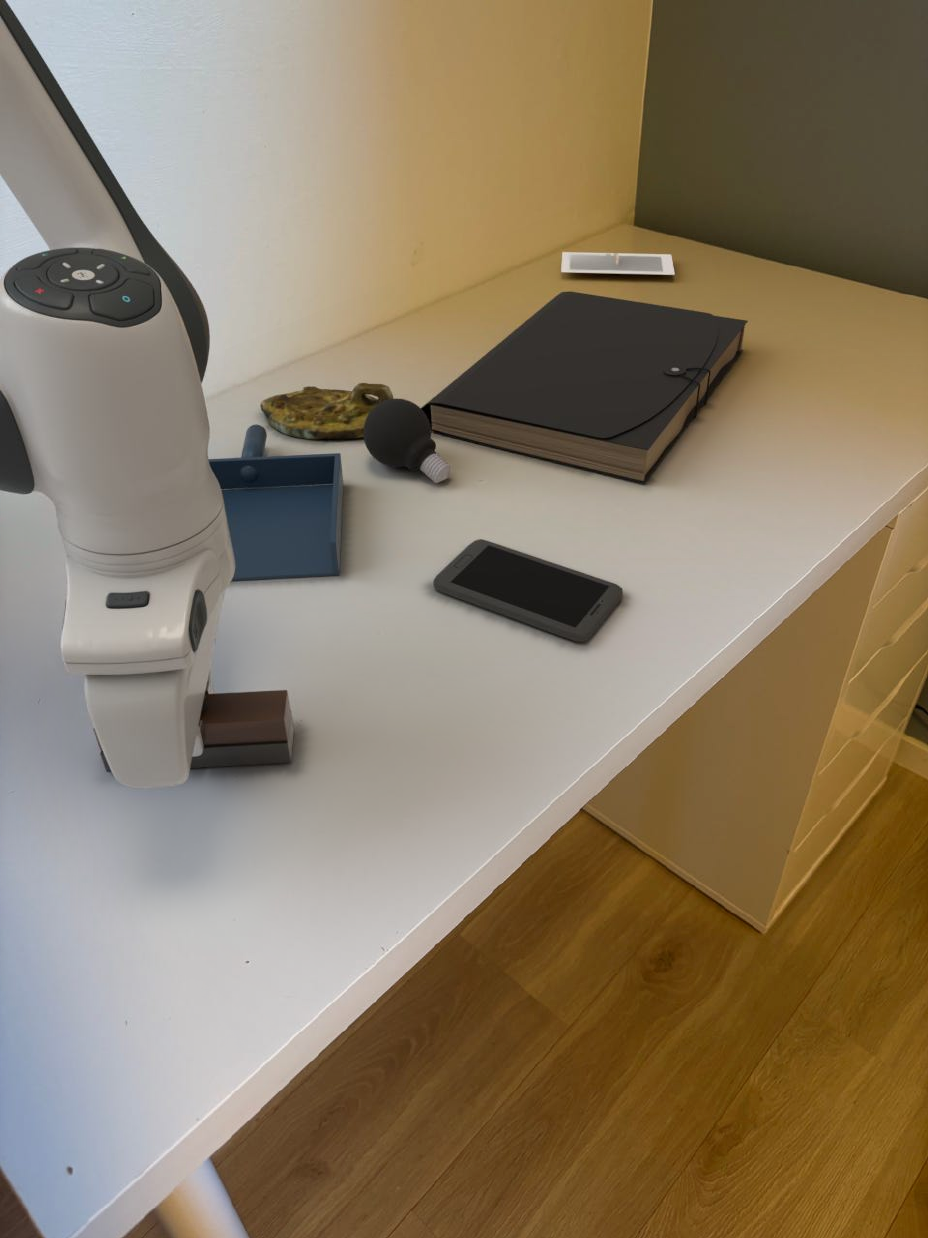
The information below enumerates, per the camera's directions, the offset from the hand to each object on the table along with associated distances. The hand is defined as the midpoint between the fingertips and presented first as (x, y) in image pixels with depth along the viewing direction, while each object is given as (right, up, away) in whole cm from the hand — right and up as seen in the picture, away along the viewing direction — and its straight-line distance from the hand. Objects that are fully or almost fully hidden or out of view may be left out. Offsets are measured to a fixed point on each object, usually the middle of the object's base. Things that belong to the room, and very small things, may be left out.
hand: (195, 725), depth 65 cm
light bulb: (+12, +22, +31) cm, 40 cm away
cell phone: (+23, +9, +15) cm, 29 cm away
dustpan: (-2, +17, +25) cm, 31 cm away
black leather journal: (+32, +32, +43) cm, 62 cm away
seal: (+4, +28, +38) cm, 47 cm away
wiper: (0, -2, +1) cm, 2 cm away
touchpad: (+38, +54, +71) cm, 97 cm away
